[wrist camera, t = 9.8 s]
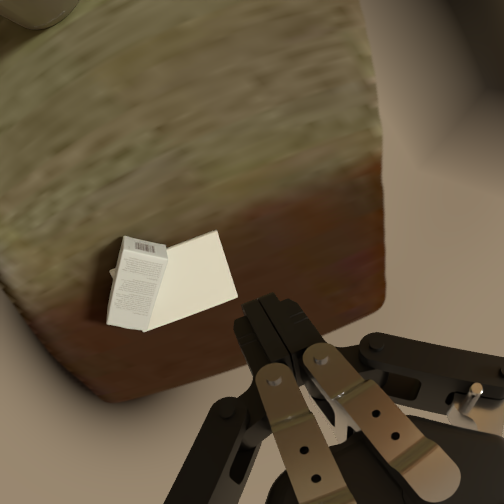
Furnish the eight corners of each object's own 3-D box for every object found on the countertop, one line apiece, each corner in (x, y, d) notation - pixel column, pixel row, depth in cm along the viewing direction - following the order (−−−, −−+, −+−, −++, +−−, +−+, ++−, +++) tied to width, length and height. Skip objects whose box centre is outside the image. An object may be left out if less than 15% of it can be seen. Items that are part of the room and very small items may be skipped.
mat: (109, 270, 41) (109, 271, 41) (216, 229, 44) (217, 231, 44) (143, 330, 48) (143, 332, 47) (237, 295, 50) (238, 297, 50)
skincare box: (123, 233, 39) (106, 306, 43) (122, 248, 36) (105, 325, 40) (166, 244, 42) (145, 314, 46) (170, 259, 39) (147, 332, 42)
